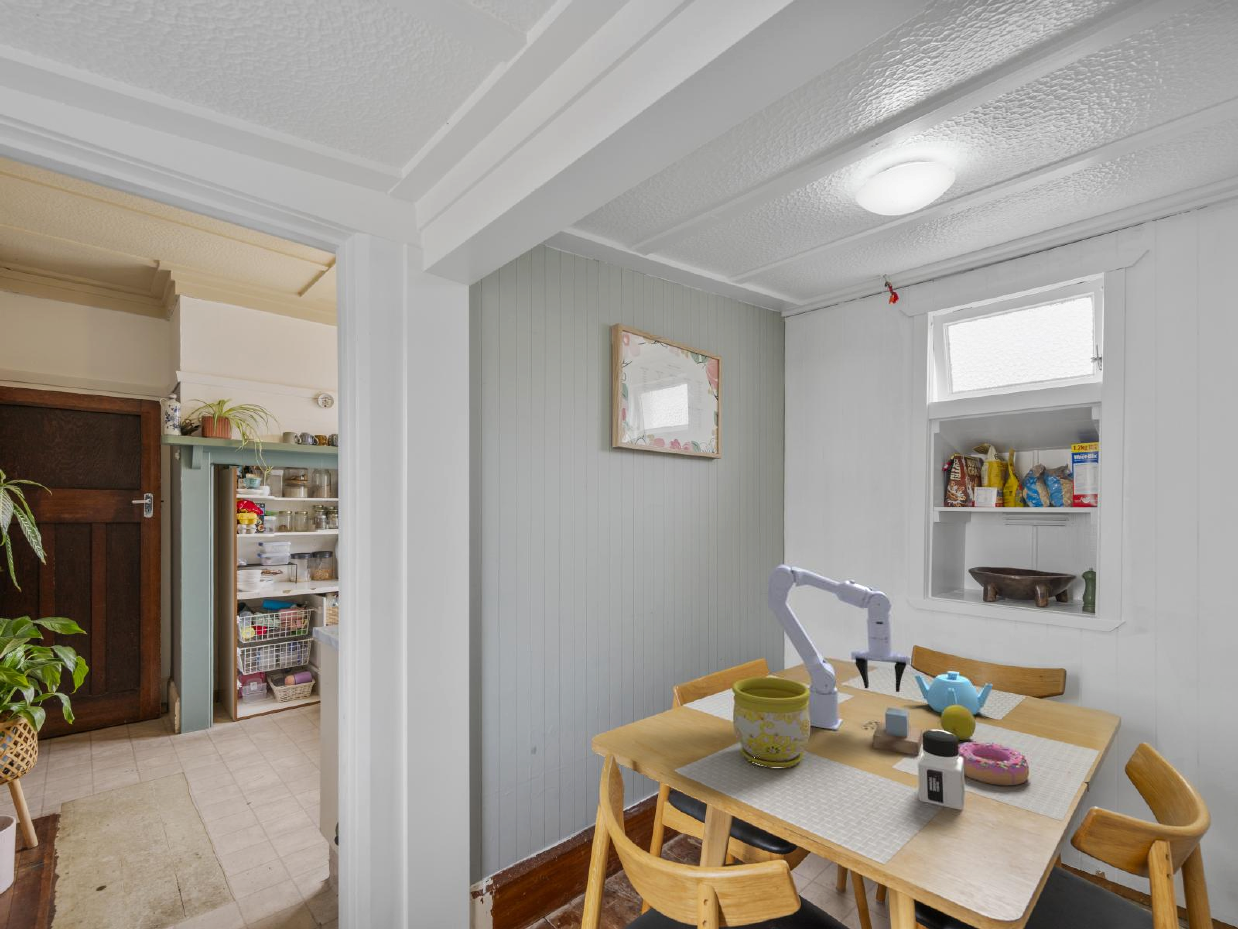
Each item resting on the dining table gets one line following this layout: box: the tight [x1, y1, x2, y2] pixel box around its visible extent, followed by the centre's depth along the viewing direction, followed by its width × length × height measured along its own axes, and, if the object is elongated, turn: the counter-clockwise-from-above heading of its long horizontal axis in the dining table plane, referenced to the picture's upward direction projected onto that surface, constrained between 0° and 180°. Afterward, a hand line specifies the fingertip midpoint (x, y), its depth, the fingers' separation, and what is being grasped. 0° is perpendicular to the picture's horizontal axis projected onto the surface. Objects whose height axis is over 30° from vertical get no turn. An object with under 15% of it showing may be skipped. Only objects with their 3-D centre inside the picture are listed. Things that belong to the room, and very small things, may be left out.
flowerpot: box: [731, 676, 811, 768], centre depth 149 cm, size 18×18×16 cm
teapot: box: [914, 670, 993, 716], centre depth 181 cm, size 15×15×11 cm
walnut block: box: [872, 721, 923, 756], centre depth 156 cm, size 10×10×3 cm
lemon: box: [940, 705, 976, 741], centre depth 160 cm, size 11×8×8 cm
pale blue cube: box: [884, 707, 910, 737], centre depth 156 cm, size 5×5×5 cm
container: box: [917, 729, 966, 811], centre depth 128 cm, size 8×8×13 cm
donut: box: [958, 741, 1030, 786], centre depth 139 cm, size 14×14×5 cm
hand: (882, 689), depth 167 cm, fingers open, 7 cm apart
